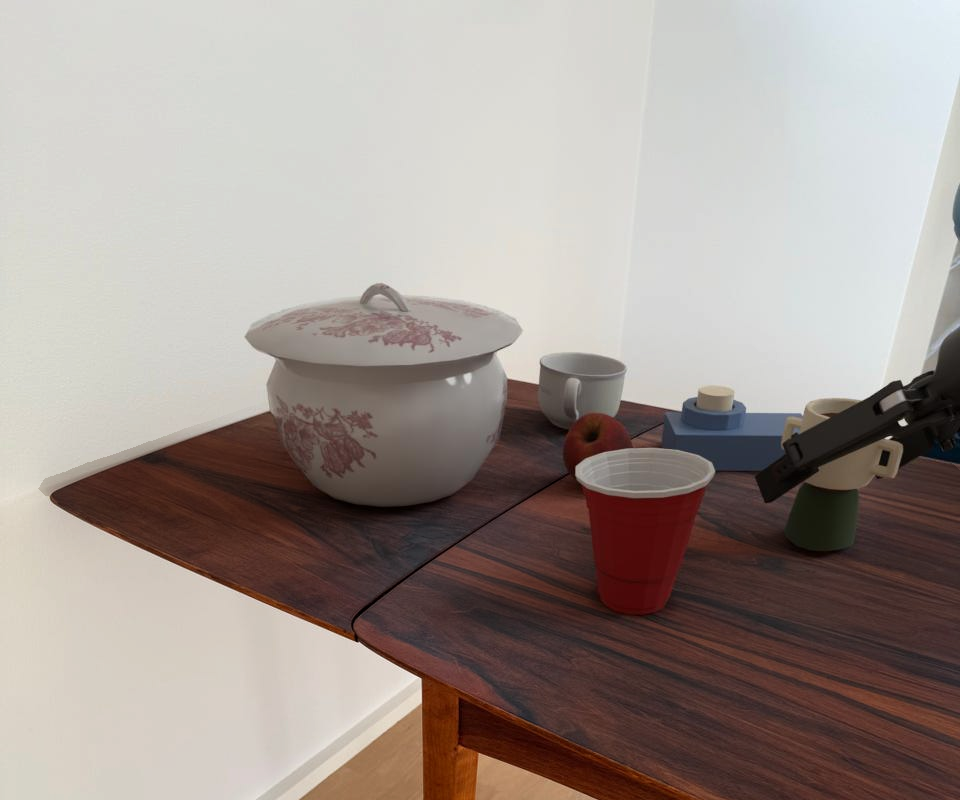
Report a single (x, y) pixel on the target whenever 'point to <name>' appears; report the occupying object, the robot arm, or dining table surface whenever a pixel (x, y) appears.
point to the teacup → (579, 386)
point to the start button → (715, 398)
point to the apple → (593, 439)
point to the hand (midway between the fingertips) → (820, 477)
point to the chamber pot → (387, 392)
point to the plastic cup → (641, 521)
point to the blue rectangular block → (727, 435)
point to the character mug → (834, 484)
